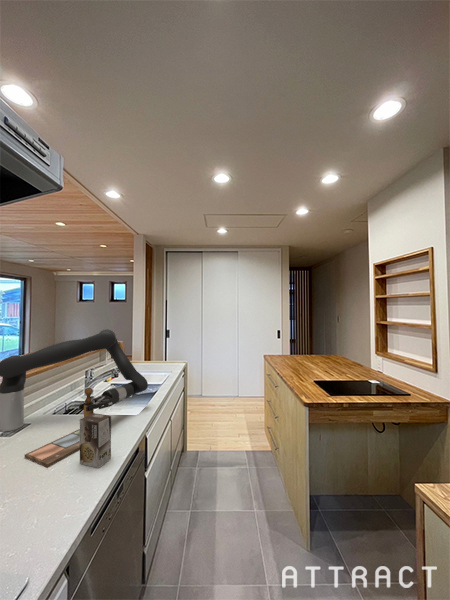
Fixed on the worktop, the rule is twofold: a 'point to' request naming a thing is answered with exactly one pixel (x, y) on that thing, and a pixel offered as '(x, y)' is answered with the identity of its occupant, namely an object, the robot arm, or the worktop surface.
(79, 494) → the worktop surface
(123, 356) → the robot arm
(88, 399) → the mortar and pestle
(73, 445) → the tile board
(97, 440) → the coffee box
